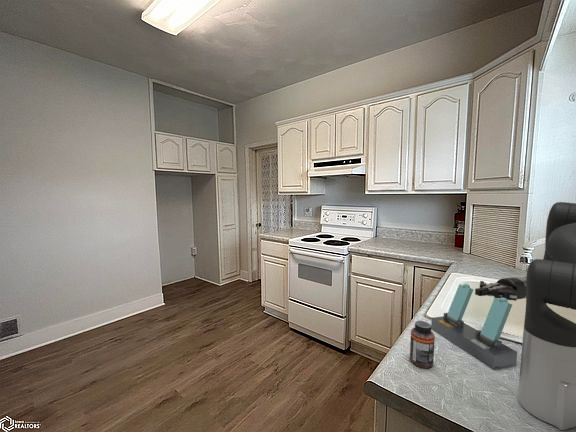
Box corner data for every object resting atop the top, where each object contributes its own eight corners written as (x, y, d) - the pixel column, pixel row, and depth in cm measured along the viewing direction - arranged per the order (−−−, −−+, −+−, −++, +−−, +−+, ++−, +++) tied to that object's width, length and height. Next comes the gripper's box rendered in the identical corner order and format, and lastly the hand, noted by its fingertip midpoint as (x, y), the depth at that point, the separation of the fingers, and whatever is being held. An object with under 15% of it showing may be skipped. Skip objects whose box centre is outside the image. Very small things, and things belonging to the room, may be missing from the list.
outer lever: (459, 325, 85) (475, 286, 85) (455, 324, 85) (470, 285, 85) (449, 320, 89) (464, 282, 89) (445, 318, 88) (460, 281, 89)
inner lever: (496, 346, 73) (514, 301, 74) (491, 345, 73) (509, 299, 73) (483, 339, 77) (499, 296, 77) (478, 337, 77) (495, 294, 77)
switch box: (516, 365, 72) (517, 344, 71) (493, 369, 70) (495, 347, 69) (449, 326, 93) (450, 309, 92) (431, 328, 91) (432, 311, 91)
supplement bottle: (412, 353, 77) (414, 316, 76) (435, 361, 73) (437, 323, 72) (407, 363, 72) (409, 324, 71) (430, 372, 68) (433, 331, 68)
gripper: (497, 272, 98) (460, 275, 94) (538, 284, 85) (497, 288, 81) (496, 291, 99) (459, 295, 95) (536, 306, 86) (495, 311, 82)
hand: (477, 292), depth 88 cm, fingers closed
